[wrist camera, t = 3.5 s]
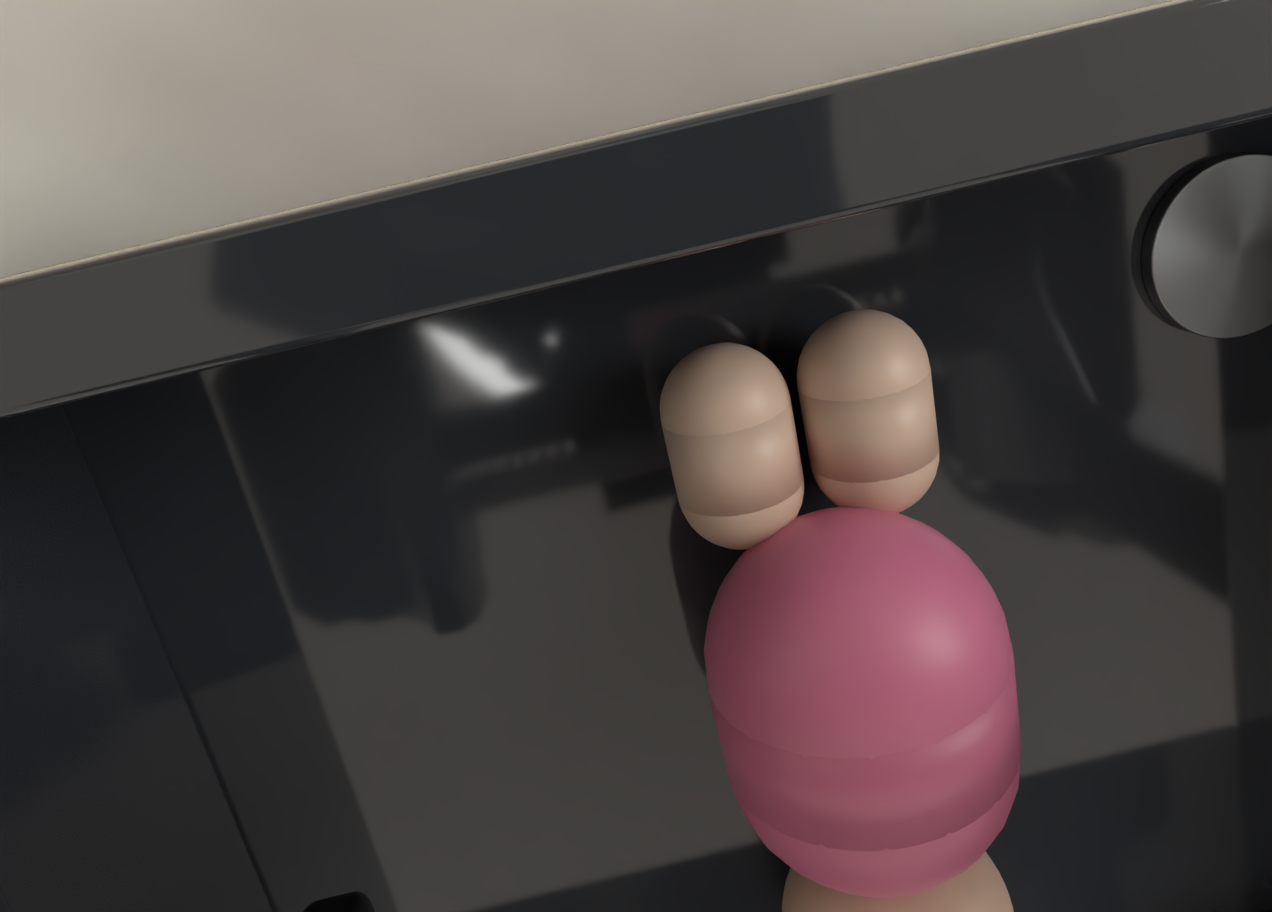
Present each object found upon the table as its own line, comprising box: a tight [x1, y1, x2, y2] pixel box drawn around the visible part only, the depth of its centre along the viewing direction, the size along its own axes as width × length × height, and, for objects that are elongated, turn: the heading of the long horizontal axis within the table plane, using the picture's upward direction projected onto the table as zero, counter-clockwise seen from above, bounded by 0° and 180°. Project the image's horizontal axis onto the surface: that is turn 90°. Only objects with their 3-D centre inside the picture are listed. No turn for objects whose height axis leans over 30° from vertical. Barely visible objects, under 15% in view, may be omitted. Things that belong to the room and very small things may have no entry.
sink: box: [0, 0, 1272, 912], centre depth 10 cm, size 15×12×4 cm
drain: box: [1142, 152, 1272, 339], centre depth 10 cm, size 2×2×1 cm
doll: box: [660, 309, 1021, 912], centre depth 10 cm, size 8×3×3 cm, turn 13°
